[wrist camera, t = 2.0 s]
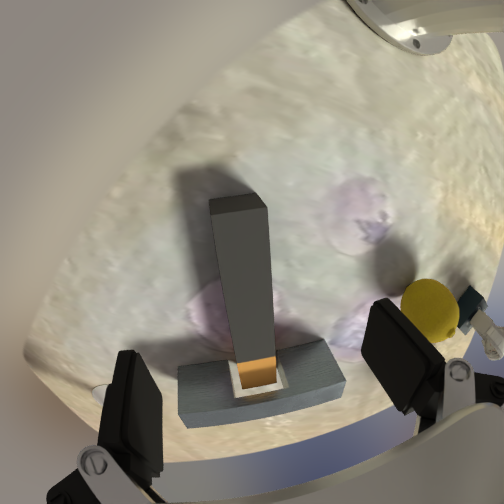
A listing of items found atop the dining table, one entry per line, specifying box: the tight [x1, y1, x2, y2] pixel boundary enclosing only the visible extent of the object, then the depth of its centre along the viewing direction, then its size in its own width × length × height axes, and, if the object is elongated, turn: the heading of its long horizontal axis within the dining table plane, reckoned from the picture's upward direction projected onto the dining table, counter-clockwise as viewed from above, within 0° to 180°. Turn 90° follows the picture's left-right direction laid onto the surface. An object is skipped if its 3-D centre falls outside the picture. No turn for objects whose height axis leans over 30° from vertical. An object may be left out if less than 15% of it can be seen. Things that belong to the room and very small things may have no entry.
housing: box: [178, 339, 346, 429], centre depth 23 cm, size 3×15×6 cm, turn 95°
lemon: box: [400, 279, 459, 343], centre depth 22 cm, size 6×6×8 cm
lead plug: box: [209, 193, 277, 389], centre depth 20 cm, size 16×3×3 cm, turn 5°
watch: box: [457, 286, 504, 360], centre depth 25 cm, size 6×8×11 cm
